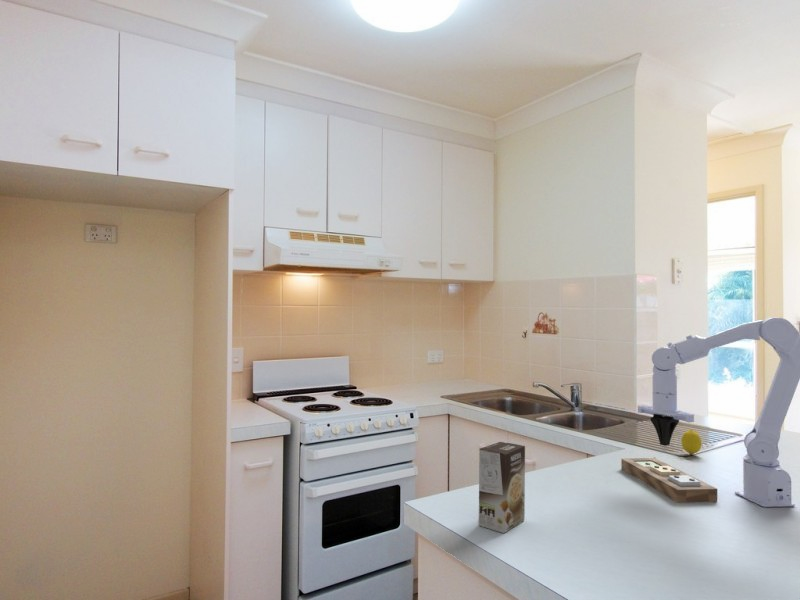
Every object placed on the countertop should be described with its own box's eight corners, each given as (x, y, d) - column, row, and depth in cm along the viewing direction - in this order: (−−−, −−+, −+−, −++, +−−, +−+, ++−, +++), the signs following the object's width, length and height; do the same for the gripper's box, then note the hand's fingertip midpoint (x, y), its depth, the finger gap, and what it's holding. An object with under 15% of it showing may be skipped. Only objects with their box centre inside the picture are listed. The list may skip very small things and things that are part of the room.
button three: (680, 482, 133) (679, 470, 133) (661, 482, 133) (661, 471, 133) (668, 476, 138) (668, 465, 138) (650, 476, 138) (650, 465, 138)
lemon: (704, 457, 160) (704, 432, 160) (684, 456, 161) (684, 431, 162) (697, 453, 166) (697, 428, 166) (679, 452, 167) (678, 427, 167)
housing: (717, 501, 123) (717, 488, 123) (677, 502, 122) (677, 489, 122) (654, 468, 149) (654, 458, 149) (621, 469, 148) (621, 458, 148)
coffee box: (505, 534, 104) (505, 454, 104) (477, 526, 108) (478, 448, 108) (525, 520, 111) (525, 445, 111) (499, 512, 115) (499, 440, 115)
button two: (700, 493, 125) (700, 480, 125) (680, 493, 125) (680, 481, 125) (687, 486, 130) (687, 474, 130) (668, 486, 130) (668, 474, 130)
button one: (661, 477, 141) (661, 465, 141) (644, 477, 141) (644, 466, 141) (651, 471, 146) (651, 460, 146) (634, 471, 146) (634, 461, 146)
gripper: (700, 395, 132) (701, 449, 131) (649, 388, 144) (649, 437, 144) (684, 397, 128) (684, 452, 128) (632, 389, 141) (632, 439, 141)
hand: (664, 444), depth 136 cm, fingers closed
